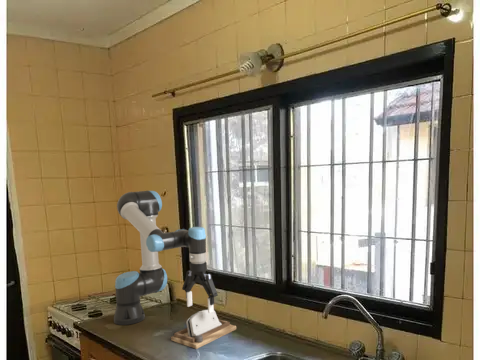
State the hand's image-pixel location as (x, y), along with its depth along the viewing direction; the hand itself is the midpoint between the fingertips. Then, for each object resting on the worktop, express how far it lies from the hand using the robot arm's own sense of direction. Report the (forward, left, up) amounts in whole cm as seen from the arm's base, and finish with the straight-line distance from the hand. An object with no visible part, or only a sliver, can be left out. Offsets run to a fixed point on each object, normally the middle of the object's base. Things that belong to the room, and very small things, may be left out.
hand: (200, 308), depth 182 cm
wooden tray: (+2, 0, -11) cm, 11 cm away
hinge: (+2, 0, -10) cm, 10 cm away
